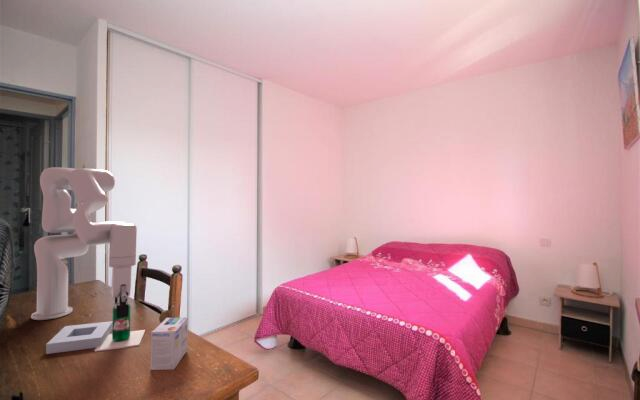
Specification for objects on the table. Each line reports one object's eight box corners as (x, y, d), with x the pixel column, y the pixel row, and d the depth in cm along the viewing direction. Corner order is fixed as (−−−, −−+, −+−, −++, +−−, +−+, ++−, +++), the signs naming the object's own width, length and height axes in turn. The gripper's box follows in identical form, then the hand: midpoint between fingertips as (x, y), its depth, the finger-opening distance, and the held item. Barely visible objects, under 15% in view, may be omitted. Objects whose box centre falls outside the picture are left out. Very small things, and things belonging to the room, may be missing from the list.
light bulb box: (165, 351, 96) (166, 316, 96) (187, 351, 97) (188, 316, 97) (149, 370, 86) (150, 331, 86) (174, 369, 86) (175, 331, 86)
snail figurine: (180, 338, 106) (181, 302, 106) (165, 346, 100) (166, 308, 100) (168, 335, 108) (168, 300, 108) (152, 343, 102) (153, 306, 102)
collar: (64, 334, 107) (65, 326, 107) (112, 329, 112) (112, 321, 112) (46, 354, 94) (46, 344, 94) (101, 346, 99) (101, 337, 99)
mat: (105, 335, 107) (105, 334, 107) (145, 330, 111) (145, 329, 111) (94, 351, 96) (94, 350, 96) (139, 345, 100) (139, 344, 100)
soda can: (111, 343, 100) (112, 306, 100) (112, 337, 104) (112, 302, 104) (130, 340, 103) (131, 303, 103) (129, 334, 107) (130, 299, 107)
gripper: (108, 257, 108) (106, 306, 108) (110, 267, 94) (108, 323, 94) (133, 255, 113) (131, 302, 113) (138, 264, 99) (137, 318, 99)
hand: (121, 312), depth 104 cm, fingers open, 9 cm apart
